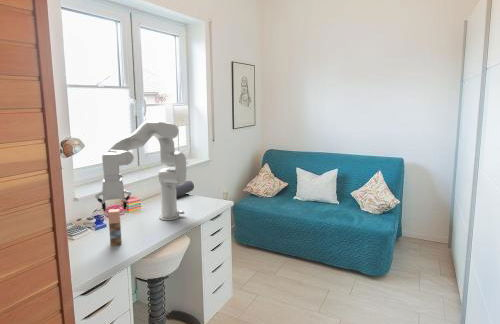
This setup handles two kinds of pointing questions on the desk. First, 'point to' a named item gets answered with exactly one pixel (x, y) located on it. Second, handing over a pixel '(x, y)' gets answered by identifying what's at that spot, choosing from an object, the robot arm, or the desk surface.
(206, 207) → the desk surface
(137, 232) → the desk surface
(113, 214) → the terracotta cube
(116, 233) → the tower
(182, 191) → the bluetooth speaker
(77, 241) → the desk surface
